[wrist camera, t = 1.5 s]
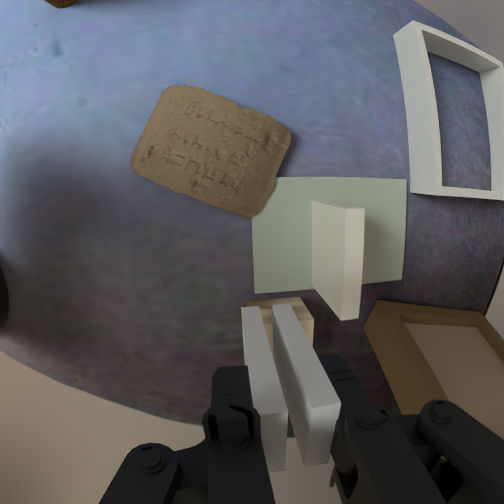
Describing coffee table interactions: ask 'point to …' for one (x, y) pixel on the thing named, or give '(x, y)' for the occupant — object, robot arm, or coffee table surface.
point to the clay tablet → (211, 150)
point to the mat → (300, 229)
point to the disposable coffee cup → (61, 3)
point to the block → (298, 308)
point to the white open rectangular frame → (425, 109)
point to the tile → (338, 256)
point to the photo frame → (440, 359)
